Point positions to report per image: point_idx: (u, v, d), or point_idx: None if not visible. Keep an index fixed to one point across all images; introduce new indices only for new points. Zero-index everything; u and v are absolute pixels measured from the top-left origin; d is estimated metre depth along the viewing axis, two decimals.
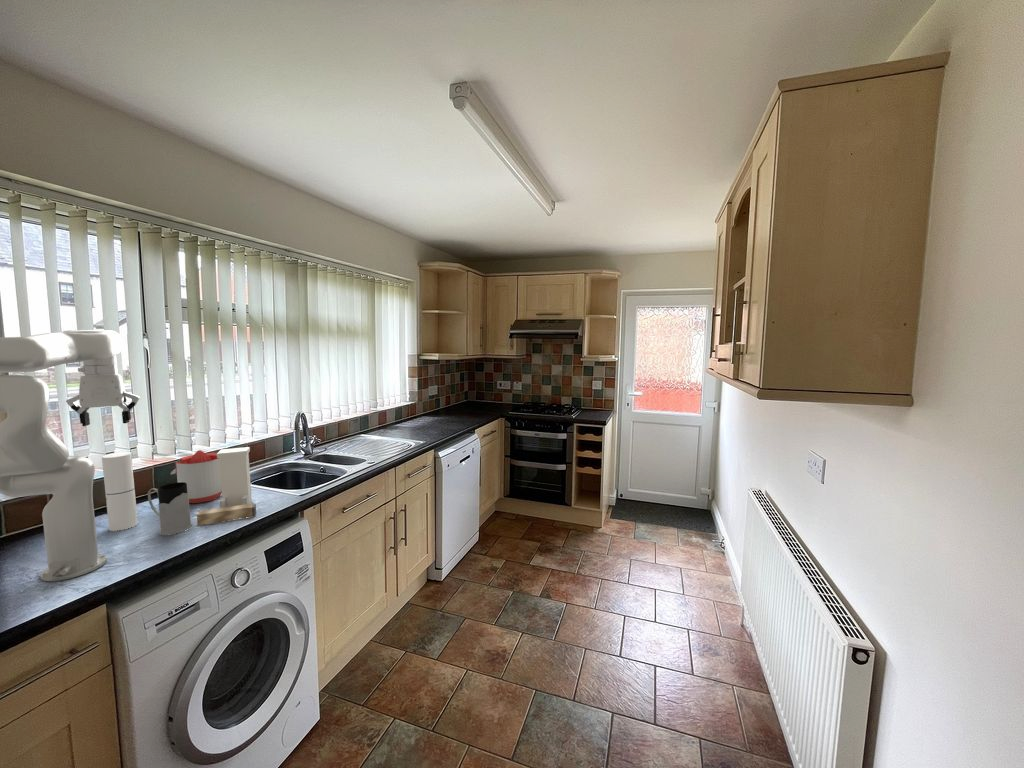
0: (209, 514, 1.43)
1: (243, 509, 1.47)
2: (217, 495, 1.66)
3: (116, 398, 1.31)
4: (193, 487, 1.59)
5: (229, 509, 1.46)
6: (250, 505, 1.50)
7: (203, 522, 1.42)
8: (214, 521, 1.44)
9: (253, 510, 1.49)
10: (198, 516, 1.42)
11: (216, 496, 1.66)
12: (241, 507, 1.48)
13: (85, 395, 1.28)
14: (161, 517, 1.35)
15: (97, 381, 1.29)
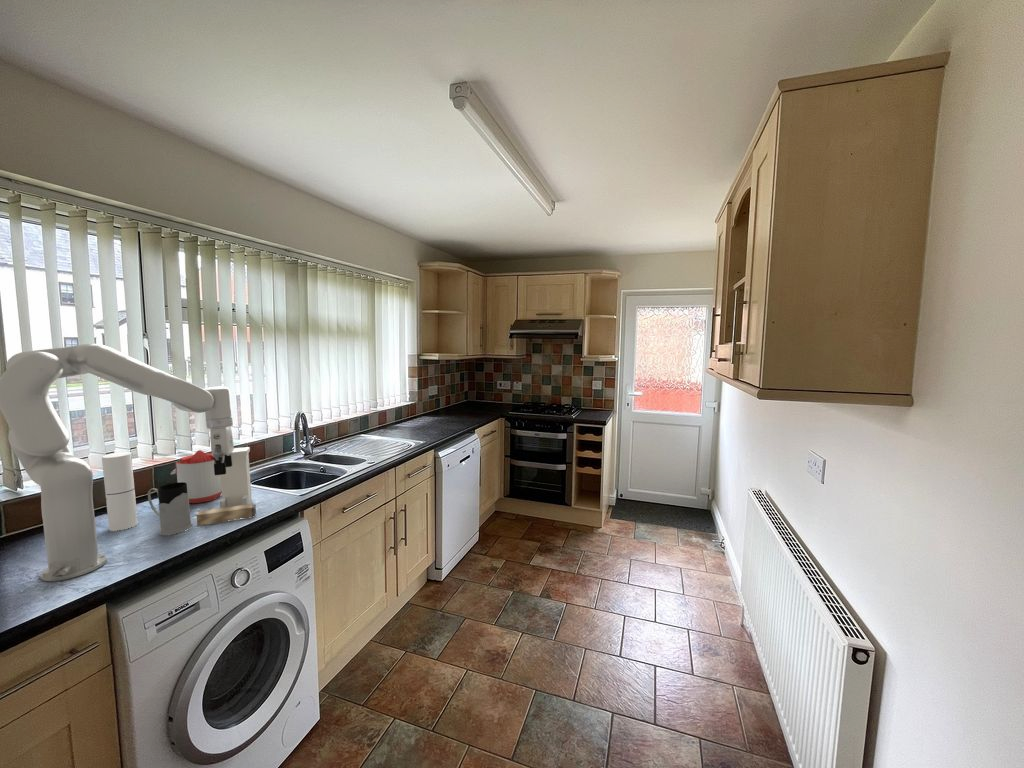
0: (209, 514, 1.43)
1: (242, 510, 1.47)
2: (217, 495, 1.66)
3: None
4: (193, 487, 1.59)
5: (229, 509, 1.46)
6: (250, 505, 1.49)
7: (203, 522, 1.42)
8: (214, 521, 1.44)
9: (253, 510, 1.48)
10: (198, 516, 1.42)
11: (216, 496, 1.66)
12: (241, 507, 1.48)
13: (228, 444, 1.42)
14: (161, 517, 1.35)
15: (229, 430, 1.45)
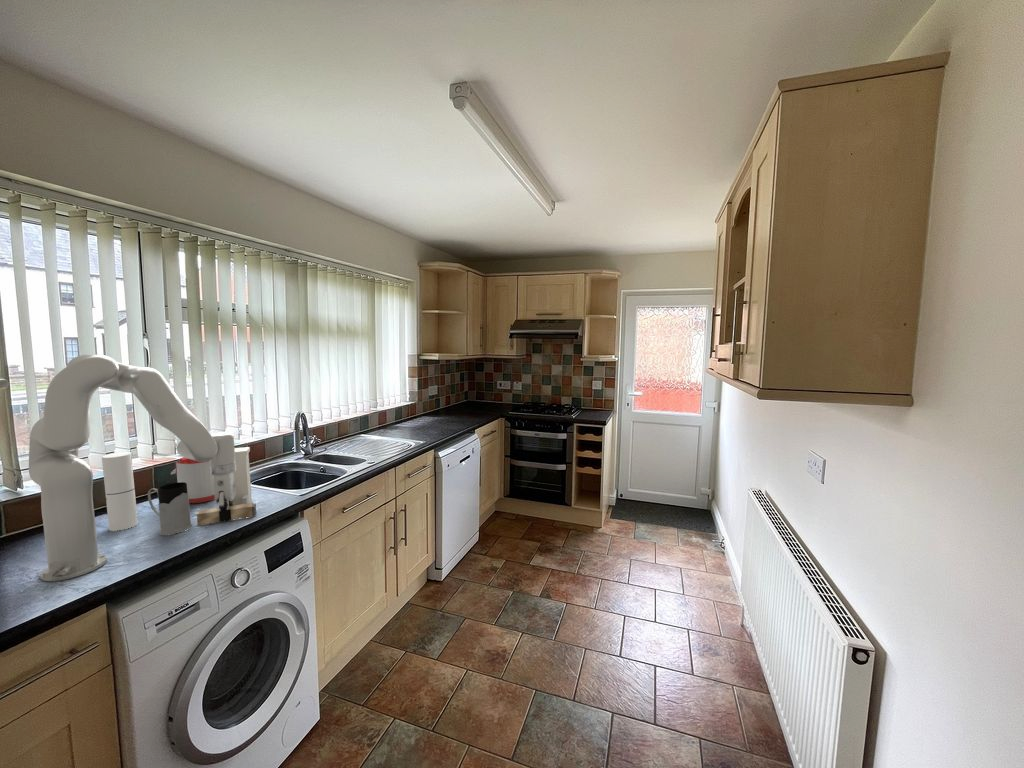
0: (209, 513, 1.43)
1: (242, 509, 1.47)
2: None
3: None
4: (193, 487, 1.59)
5: (229, 508, 1.46)
6: (250, 504, 1.50)
7: (203, 521, 1.42)
8: (214, 520, 1.44)
9: (253, 509, 1.48)
10: (198, 515, 1.42)
11: None
12: (241, 506, 1.48)
13: (231, 490, 1.44)
14: (161, 517, 1.35)
15: (233, 475, 1.46)
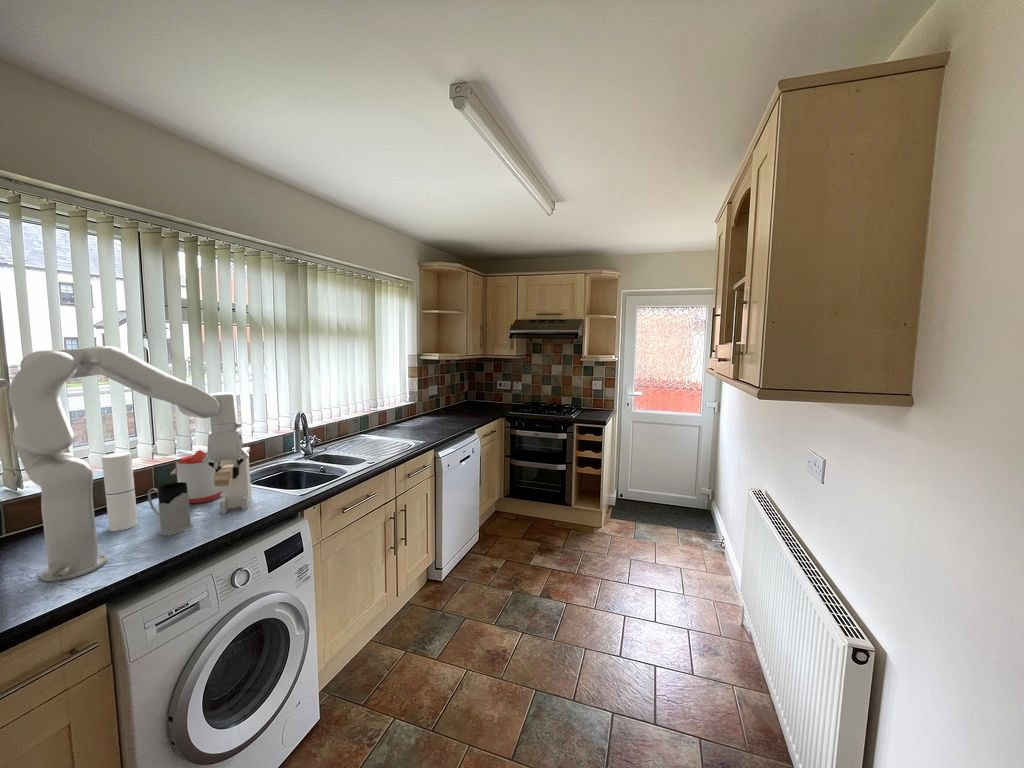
0: (230, 471, 1.44)
1: None
2: (217, 495, 1.66)
3: None
4: (193, 487, 1.59)
5: (231, 467, 1.48)
6: None
7: (229, 480, 1.42)
8: (232, 478, 1.45)
9: None
10: (228, 475, 1.41)
11: (216, 496, 1.66)
12: (232, 464, 1.52)
13: None
14: (161, 517, 1.35)
15: None
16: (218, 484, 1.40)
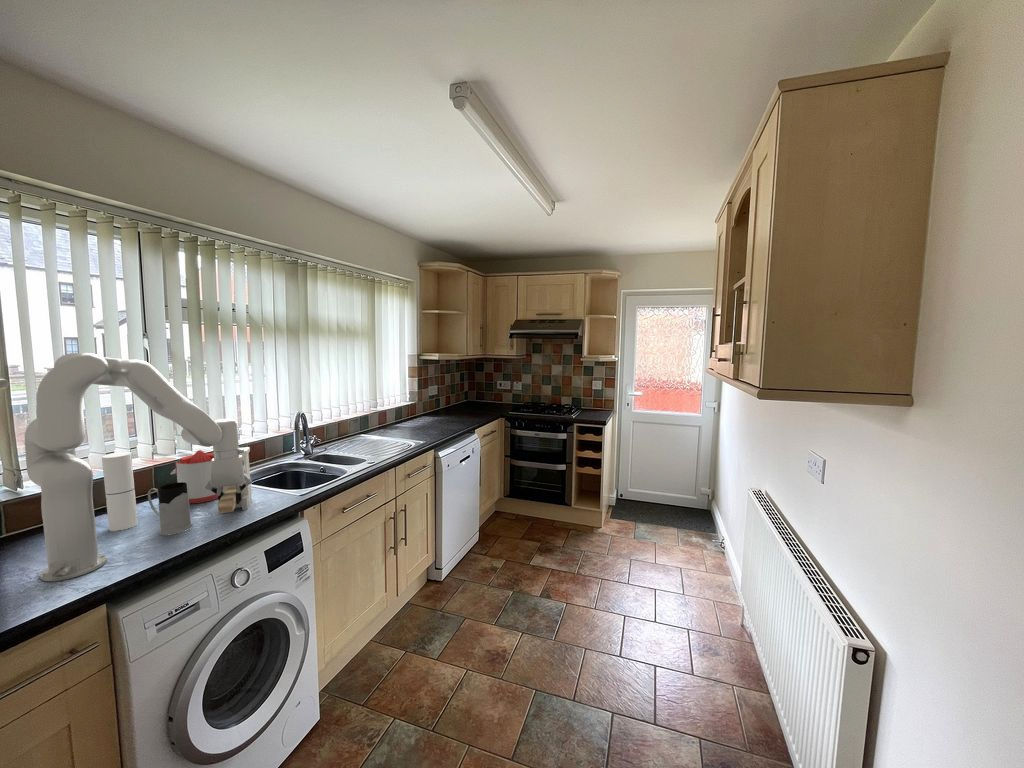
0: (233, 498, 1.45)
1: None
2: None
3: None
4: (193, 487, 1.59)
5: (233, 492, 1.50)
6: (233, 487, 1.55)
7: (233, 507, 1.44)
8: (235, 504, 1.46)
9: None
10: (232, 501, 1.42)
11: (216, 496, 1.66)
12: (234, 489, 1.53)
13: None
14: (161, 517, 1.35)
15: None
16: (222, 511, 1.41)
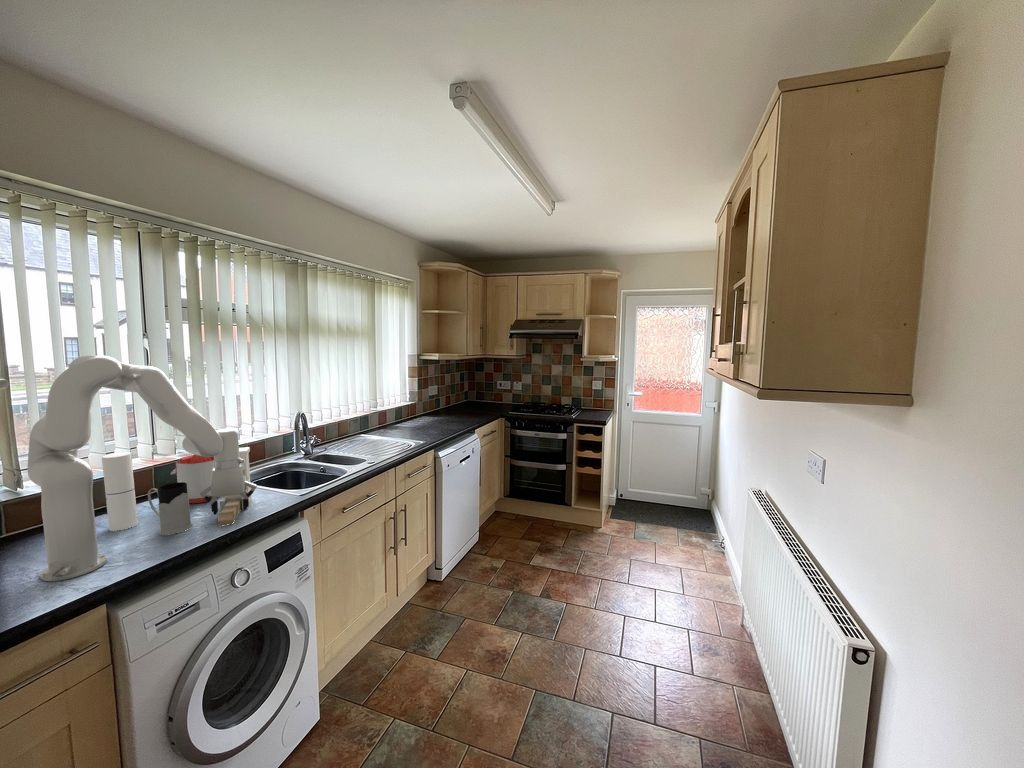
0: (234, 511, 1.45)
1: (239, 502, 1.54)
2: None
3: None
4: (193, 487, 1.59)
5: (234, 505, 1.50)
6: (234, 500, 1.55)
7: (233, 520, 1.44)
8: (235, 517, 1.47)
9: None
10: (232, 515, 1.42)
11: None
12: (235, 502, 1.53)
13: None
14: (161, 517, 1.35)
15: None
16: None
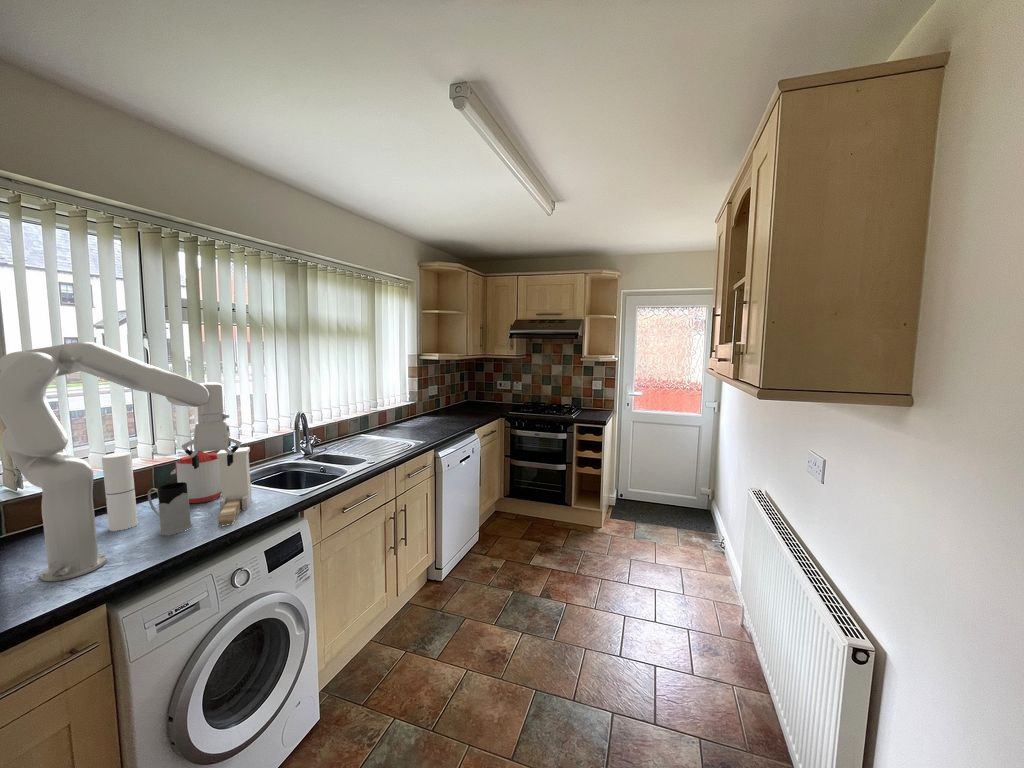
0: (234, 511, 1.45)
1: (239, 502, 1.54)
2: (217, 495, 1.66)
3: None
4: (193, 487, 1.59)
5: (234, 505, 1.50)
6: (234, 500, 1.55)
7: (233, 520, 1.44)
8: (235, 517, 1.47)
9: None
10: (232, 515, 1.42)
11: (216, 496, 1.66)
12: (235, 502, 1.53)
13: None
14: (161, 517, 1.35)
15: None
16: None
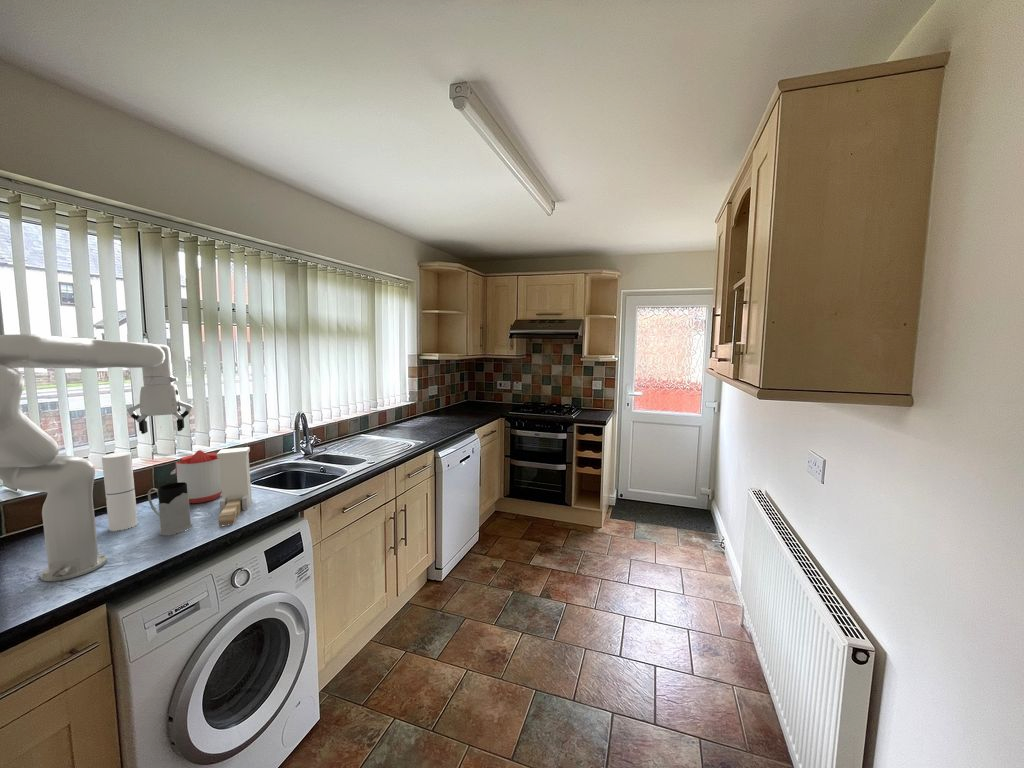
0: (234, 511, 1.45)
1: (240, 502, 1.54)
2: (217, 495, 1.66)
3: None
4: (193, 487, 1.59)
5: (234, 505, 1.50)
6: None
7: (234, 520, 1.44)
8: (236, 517, 1.47)
9: None
10: (233, 515, 1.42)
11: (216, 496, 1.66)
12: (235, 501, 1.53)
13: None
14: (161, 517, 1.35)
15: None
16: (223, 524, 1.41)
